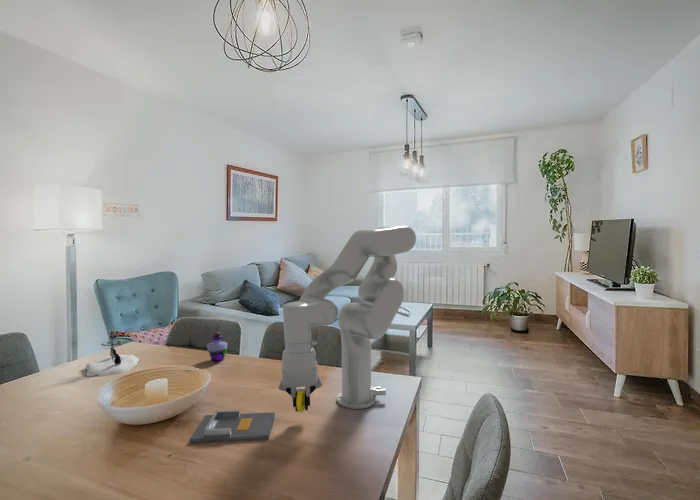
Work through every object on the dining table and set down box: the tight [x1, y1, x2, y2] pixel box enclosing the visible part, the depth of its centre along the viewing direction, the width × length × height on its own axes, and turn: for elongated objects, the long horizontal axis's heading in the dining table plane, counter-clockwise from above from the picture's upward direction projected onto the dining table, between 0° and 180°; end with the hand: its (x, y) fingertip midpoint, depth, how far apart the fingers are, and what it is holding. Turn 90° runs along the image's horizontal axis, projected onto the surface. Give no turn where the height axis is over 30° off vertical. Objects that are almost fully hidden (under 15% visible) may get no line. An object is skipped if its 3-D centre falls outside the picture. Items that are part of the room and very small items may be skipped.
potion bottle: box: [206, 331, 228, 363], centre depth 152 cm, size 9×9×12 cm
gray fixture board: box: [189, 409, 276, 444], centre depth 97 cm, size 20×12×3 cm, turn 94°
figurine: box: [85, 329, 140, 377], centre depth 144 cm, size 20×18×16 cm
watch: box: [296, 386, 306, 413], centre depth 101 cm, size 6×3×6 cm, turn 174°
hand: (301, 408), depth 101 cm, fingers closed on watch, 2 cm apart
